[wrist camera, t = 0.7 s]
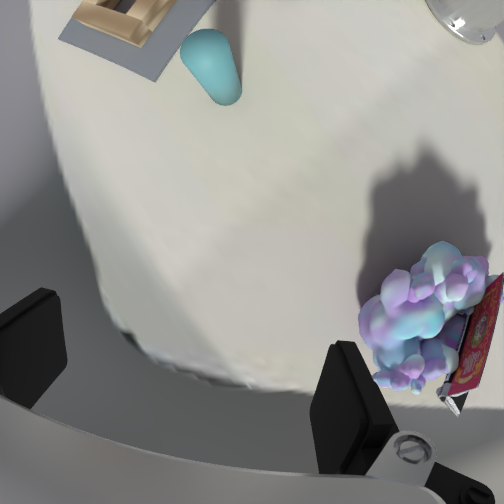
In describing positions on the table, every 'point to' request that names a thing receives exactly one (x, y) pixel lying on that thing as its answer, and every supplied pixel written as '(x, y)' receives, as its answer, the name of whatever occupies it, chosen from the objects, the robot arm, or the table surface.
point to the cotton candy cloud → (434, 323)
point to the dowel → (212, 65)
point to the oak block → (124, 18)
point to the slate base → (155, 48)
